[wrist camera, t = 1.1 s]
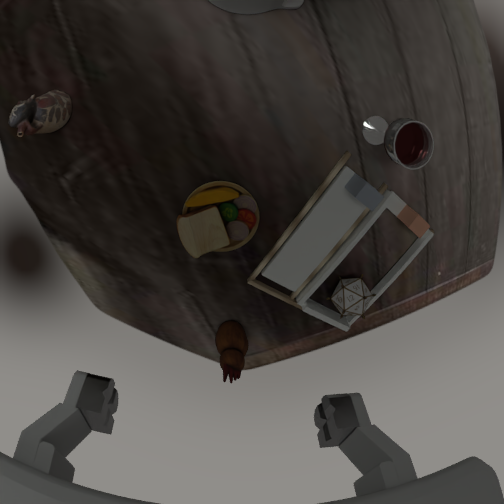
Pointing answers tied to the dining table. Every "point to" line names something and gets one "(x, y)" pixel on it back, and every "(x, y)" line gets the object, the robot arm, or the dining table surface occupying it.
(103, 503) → the robot arm
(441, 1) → the dining table surface
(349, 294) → the game die
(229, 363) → the wooden figurine
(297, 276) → the inner strip
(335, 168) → the lane rails
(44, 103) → the figurine
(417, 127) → the wineglass
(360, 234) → the grey rectangular frame
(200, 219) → the toy sandwich meal
